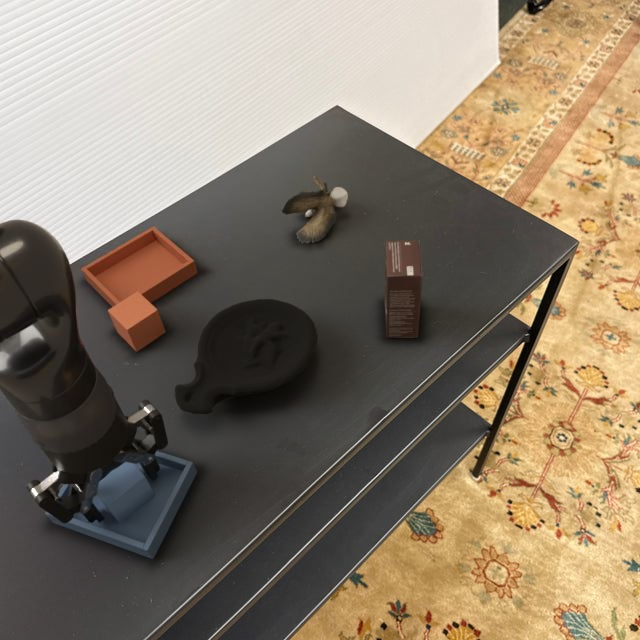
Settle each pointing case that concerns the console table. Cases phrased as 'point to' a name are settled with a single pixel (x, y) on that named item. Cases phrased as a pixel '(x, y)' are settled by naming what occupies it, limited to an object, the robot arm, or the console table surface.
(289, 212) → the eagle figurine
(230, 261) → the console table surface
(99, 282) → the terracotta tray
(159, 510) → the blue tray
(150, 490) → the blue block
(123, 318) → the terracotta block
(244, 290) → the console table surface
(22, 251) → the robot arm
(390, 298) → the box
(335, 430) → the console table surface
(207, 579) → the console table surface
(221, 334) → the oil lamp
